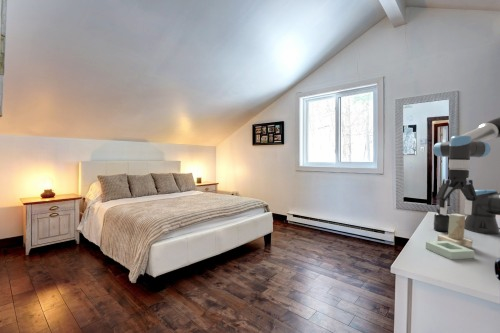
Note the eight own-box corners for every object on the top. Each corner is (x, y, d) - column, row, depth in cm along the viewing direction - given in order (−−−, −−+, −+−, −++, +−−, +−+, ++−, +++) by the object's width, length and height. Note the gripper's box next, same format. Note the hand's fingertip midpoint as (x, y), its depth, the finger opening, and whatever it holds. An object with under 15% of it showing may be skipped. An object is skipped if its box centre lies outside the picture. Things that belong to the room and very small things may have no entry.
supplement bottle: (451, 232, 137) (452, 211, 137) (437, 231, 139) (438, 210, 138) (444, 229, 144) (445, 208, 143) (431, 228, 145) (432, 207, 145)
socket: (446, 247, 115) (446, 240, 115) (474, 258, 103) (474, 250, 103) (425, 248, 113) (425, 241, 113) (451, 259, 101) (451, 252, 101)
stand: (453, 240, 124) (453, 234, 124) (472, 247, 116) (472, 240, 115) (437, 241, 123) (437, 235, 123) (455, 248, 114) (455, 241, 114)
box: (458, 239, 116) (459, 216, 116) (447, 237, 120) (448, 214, 120) (464, 238, 118) (465, 215, 118) (453, 235, 122) (454, 213, 122)
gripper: (472, 169, 123) (469, 212, 124) (428, 168, 119) (425, 212, 120) (489, 170, 116) (486, 215, 117) (442, 169, 112) (439, 216, 113)
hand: (455, 214), depth 118 cm, fingers open, 13 cm apart
